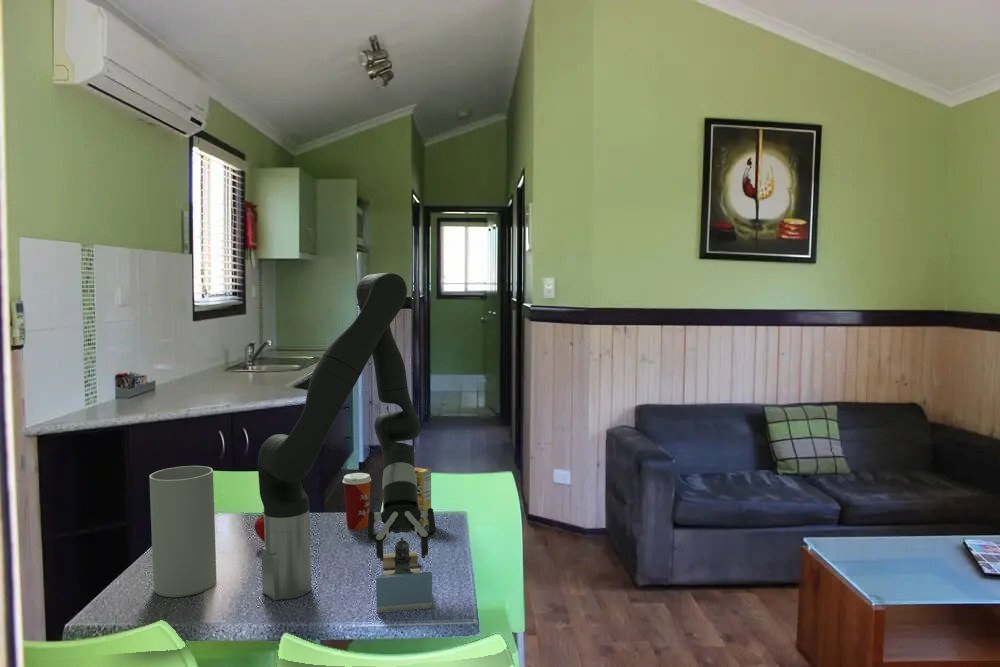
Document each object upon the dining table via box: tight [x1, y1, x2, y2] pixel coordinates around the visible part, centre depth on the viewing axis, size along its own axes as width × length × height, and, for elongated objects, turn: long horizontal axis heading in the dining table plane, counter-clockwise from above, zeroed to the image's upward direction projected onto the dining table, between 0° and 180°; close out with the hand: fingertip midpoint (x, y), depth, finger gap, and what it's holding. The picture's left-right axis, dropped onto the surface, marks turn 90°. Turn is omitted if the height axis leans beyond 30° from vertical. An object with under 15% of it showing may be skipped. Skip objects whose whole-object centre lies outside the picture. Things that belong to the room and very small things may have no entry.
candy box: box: [415, 466, 432, 528], centre depth 198 cm, size 9×4×15 cm, turn 62°
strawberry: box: [254, 511, 265, 543], centre depth 182 cm, size 6×8×10 cm
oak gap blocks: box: [382, 551, 422, 575], centre depth 163 cm, size 13×8×2 cm, turn 10°
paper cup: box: [341, 472, 372, 531], centre depth 196 cm, size 8×8×14 cm
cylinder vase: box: [149, 465, 217, 598], centre depth 157 cm, size 12×12×25 cm
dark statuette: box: [391, 536, 413, 575], centre depth 149 cm, size 6×6×12 cm
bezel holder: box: [375, 571, 433, 614], centre depth 149 cm, size 10×11×7 cm
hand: (402, 558), depth 149 cm, fingers open, 8 cm apart
